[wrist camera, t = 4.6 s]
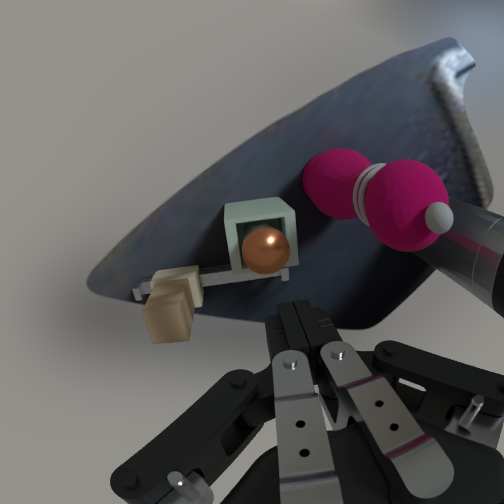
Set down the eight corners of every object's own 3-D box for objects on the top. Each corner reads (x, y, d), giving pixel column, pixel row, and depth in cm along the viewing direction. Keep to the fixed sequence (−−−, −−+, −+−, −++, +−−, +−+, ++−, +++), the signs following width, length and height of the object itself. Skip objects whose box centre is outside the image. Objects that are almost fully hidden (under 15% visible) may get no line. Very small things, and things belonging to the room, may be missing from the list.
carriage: (198, 263, 32) (188, 306, 23) (203, 291, 33) (197, 340, 24) (156, 269, 31) (134, 312, 22) (164, 296, 33) (146, 344, 24)
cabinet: (278, 196, 31) (294, 210, 23) (282, 238, 33) (298, 265, 25) (223, 204, 31) (221, 220, 23) (229, 246, 32) (230, 275, 25)
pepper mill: (285, 168, 30) (376, 194, 11) (337, 137, 29) (467, 133, 10) (316, 221, 32) (416, 307, 14) (364, 190, 31) (492, 241, 13)
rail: (282, 256, 33) (288, 267, 30) (283, 267, 34) (289, 280, 31) (140, 276, 33) (132, 289, 29) (143, 287, 33) (136, 300, 30)
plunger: (275, 210, 27) (288, 225, 21) (279, 247, 28) (291, 270, 23) (236, 216, 27) (239, 232, 21) (241, 253, 28) (245, 277, 23)
